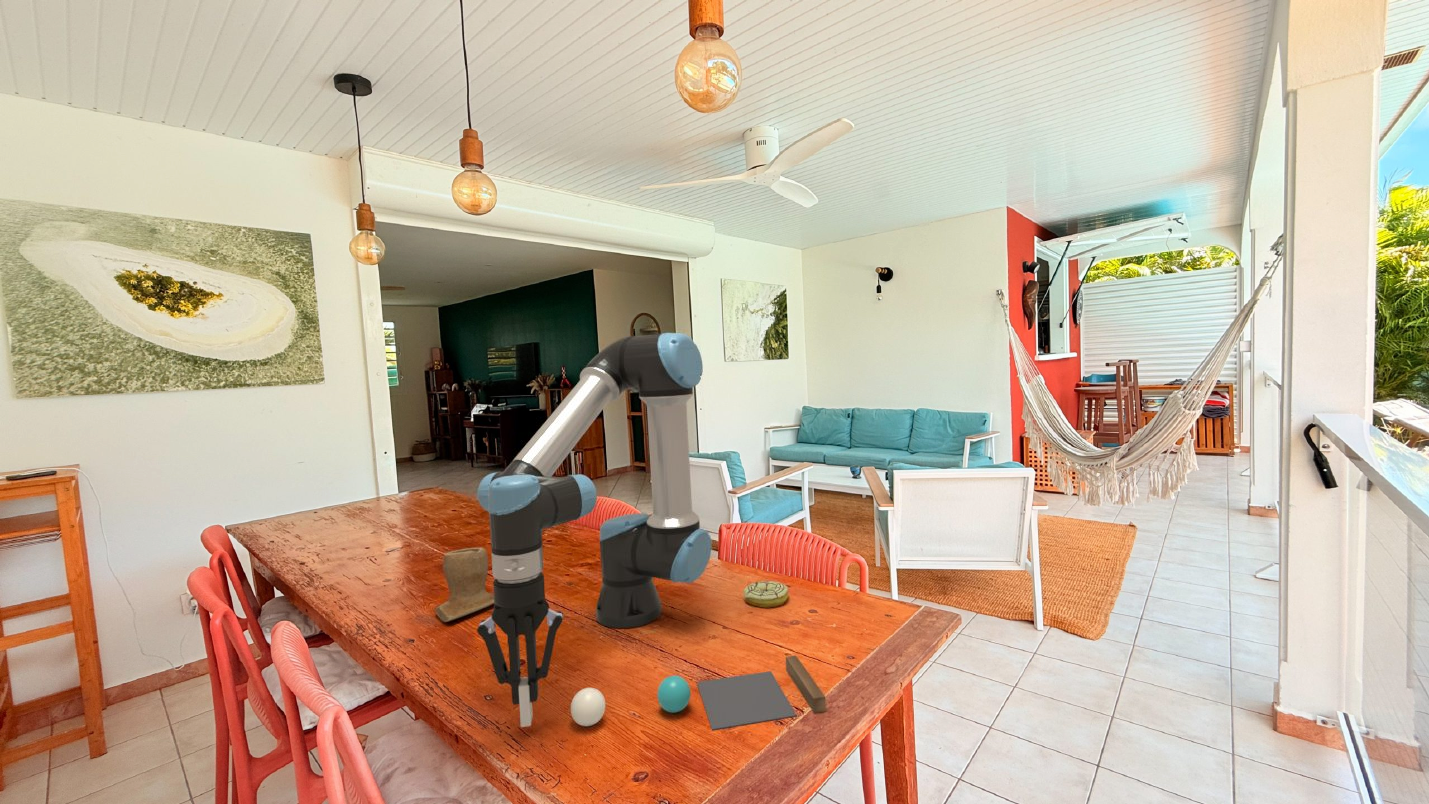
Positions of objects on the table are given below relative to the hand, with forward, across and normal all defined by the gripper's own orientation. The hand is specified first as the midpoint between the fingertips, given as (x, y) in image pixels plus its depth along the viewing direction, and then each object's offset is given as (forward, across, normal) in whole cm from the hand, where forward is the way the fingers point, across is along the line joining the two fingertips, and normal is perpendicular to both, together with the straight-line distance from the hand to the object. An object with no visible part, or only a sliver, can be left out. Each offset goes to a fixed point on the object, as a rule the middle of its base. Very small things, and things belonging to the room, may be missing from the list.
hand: (526, 721), depth 90 cm
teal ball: (-1, +24, 0) cm, 24 cm away
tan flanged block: (+2, -21, +54) cm, 58 cm away
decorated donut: (+2, +51, +39) cm, 65 cm away
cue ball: (-1, +10, 0) cm, 10 cm away
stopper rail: (+2, +46, 0) cm, 47 cm away
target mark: (+2, +36, 0) cm, 36 cm away
